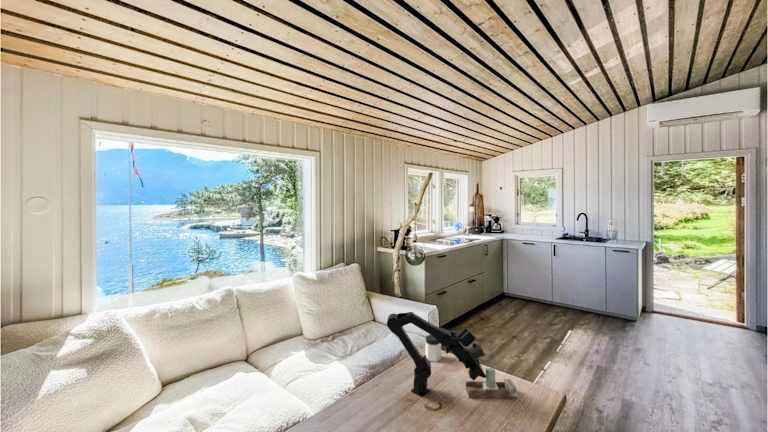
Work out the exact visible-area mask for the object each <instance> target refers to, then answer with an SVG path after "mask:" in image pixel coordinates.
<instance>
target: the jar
mask: <svg viewBox="0 0 768 432" xmlns="http://www.w3.org/2000/svg"><path fill="white" fill-rule="evenodd" d="M424 344H425V345H424V348H425V349H424V350H425V351H424V352H425V355H426V357H427V359H428V360H429V361H430V362H433V363H436V362H438V361H441V360H442V344H441V343H439V342H438V341H437V340H436V339H435V338H434V337H433V336H432V335H431V334H427V335H426V336H425V340H424ZM425 355H424V356H425Z"/></svg>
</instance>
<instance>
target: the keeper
mask: <svg viewBox="0 0 768 432" xmlns="http://www.w3.org/2000/svg"><path fill="white" fill-rule="evenodd" d="M485 375H486V378H485V382H486V383H483V389H484V390H499V388H498V386H497V384H496V383H495V382H496V370H495V369H494V368H491V367H487V368H485Z"/></svg>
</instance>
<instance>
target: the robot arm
mask: <svg viewBox="0 0 768 432" xmlns="http://www.w3.org/2000/svg"><path fill="white" fill-rule="evenodd" d="M408 324H412V325H414V326H416V327H417V328H419V329H420V330H422V331H424V332H426V333H427V334H428V335H432V336H433V337H434V338H435V339H436V340H437V341H438V342H439V343H441V346H443V347H445V354H446V355H448V354H449V353H450V352H451V353H452V355H454V356H455V357H456V359H458V362H459V363H462V364H463V365H464V367H465V369H468V374H467V375H468V377H469V378H470V379H471V381H475V380H477V378H478V377H479V378H483V379H486V372H484V370H483V368H482V365H481V363H480V361H479V358H482V357H485V352H484V350H483V348H482V345H480V344H477V343H476V342H474V341H475V340H477V335H476V334H474V332H473V331H472V330H471V329H469V328H468V327H466V326H464V327H463V328H462V330H461V331H460V332H459V333H458V332H455V331H449V329H446V328H444V327H440V326H437V325H434V324H432V323H430V322H429V321H427V320H426V319H424V318H422V317H420V316H419V315H417V314H415V313H414V312H412V311H408V312H399V313H391V314H389V315H388V316H387V321H386V327H387V329H389V331H390V332H391V333H392V334H393V335H395V337H397V338H398V339H399V341H400V342H401V344H402V345H403V347H404V349H405V350H406V351H407V353H408V355H409V356H410V357H411V359H412V361H413V362H414V365H415V368H414V369H413V375H414V376H413V388H412V389H411V390H410V392H411V393H413V394H415V395H417V396H420V397H424V396H426V394H428V393H430V392H431V389H430V388H428V379H429V378H430V377H431V376H432V365H431V364H432V363H431V361H429V360H428V359H427V357H426V355H424V356H423V355H422V354H421V353H420V352H419V350H418V348H417V347H416V346H415V344H414V343H413V341H412V339H411V338H410V337H409V335H408V334H407V332H406V331H405V328H404V326H406V325H408ZM470 345H471V348H470V349H469V348H467V347H469V346H470Z"/></svg>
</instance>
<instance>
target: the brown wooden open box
mask: <svg viewBox="0 0 768 432" xmlns="http://www.w3.org/2000/svg"><path fill="white" fill-rule="evenodd" d="M503 380H504V381H495V383H496V384H497V386H498V388H499V390H484V389H483V383H486V381H485V380H484V381H480V380H476V381H475V380H465V390H466V393H467V396H468V399H476V400H477V399H481V400H483V399H484V400H507V401H509V400H510V401H511V400H513V401H517V400H518V396H517V395H518V394H517V391H518V390H517V388H516V386H515V384H514V382H513V381H512V379H511V378H504V379H503Z"/></svg>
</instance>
